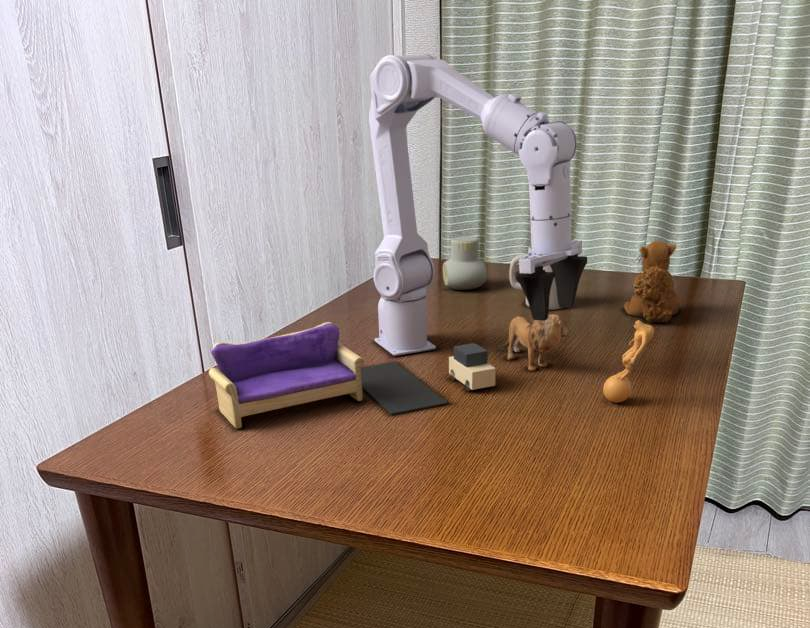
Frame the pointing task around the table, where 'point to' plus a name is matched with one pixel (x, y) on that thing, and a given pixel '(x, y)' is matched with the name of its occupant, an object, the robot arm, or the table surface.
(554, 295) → the mug
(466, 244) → the air freshener
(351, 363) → the toy sofa
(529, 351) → the lion figurine
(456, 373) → the toy car
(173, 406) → the table surface
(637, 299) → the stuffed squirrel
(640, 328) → the figurine
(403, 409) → the mat
